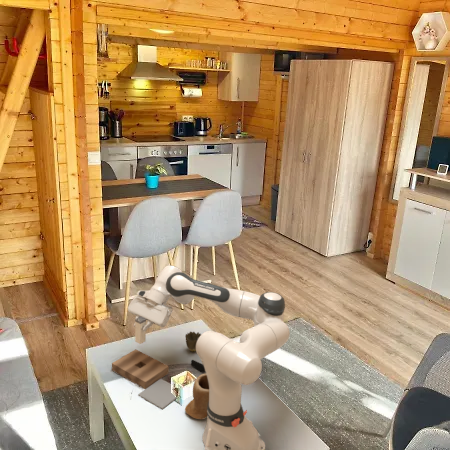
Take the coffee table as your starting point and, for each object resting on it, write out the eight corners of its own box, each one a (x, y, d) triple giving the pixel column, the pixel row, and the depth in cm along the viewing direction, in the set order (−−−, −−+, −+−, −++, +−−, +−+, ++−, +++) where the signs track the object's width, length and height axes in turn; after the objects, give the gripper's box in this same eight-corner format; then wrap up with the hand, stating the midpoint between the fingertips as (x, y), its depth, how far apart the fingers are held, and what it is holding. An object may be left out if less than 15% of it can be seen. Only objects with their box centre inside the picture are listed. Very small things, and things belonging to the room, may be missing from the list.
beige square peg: (145, 341, 193) (145, 319, 190) (140, 344, 191) (140, 321, 188) (140, 338, 195) (140, 316, 192) (135, 341, 192) (135, 319, 189)
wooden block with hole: (168, 373, 197) (168, 366, 196) (145, 389, 186) (145, 382, 185) (135, 355, 208) (135, 349, 207) (111, 370, 197) (111, 363, 196)
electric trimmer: (194, 363, 206) (194, 357, 205) (222, 377, 197) (222, 370, 196) (189, 367, 203) (189, 361, 202) (216, 381, 194) (216, 374, 193)
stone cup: (205, 427, 168) (207, 392, 163) (180, 413, 174) (181, 379, 169) (228, 405, 180) (231, 372, 175) (204, 393, 186) (206, 361, 181)
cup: (182, 353, 212) (182, 337, 210) (188, 344, 219) (188, 330, 216) (197, 356, 210) (198, 341, 208) (203, 348, 217) (203, 333, 214)
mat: (184, 392, 185) (184, 391, 185) (162, 409, 175) (162, 408, 175) (160, 379, 192) (160, 378, 192) (138, 395, 182) (138, 394, 182)
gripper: (177, 310, 192) (161, 340, 187) (143, 295, 203) (126, 323, 198) (170, 304, 187) (153, 335, 182) (135, 289, 198) (118, 318, 194)
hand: (139, 328), depth 190 cm, fingers closed on beige square peg, 3 cm apart
